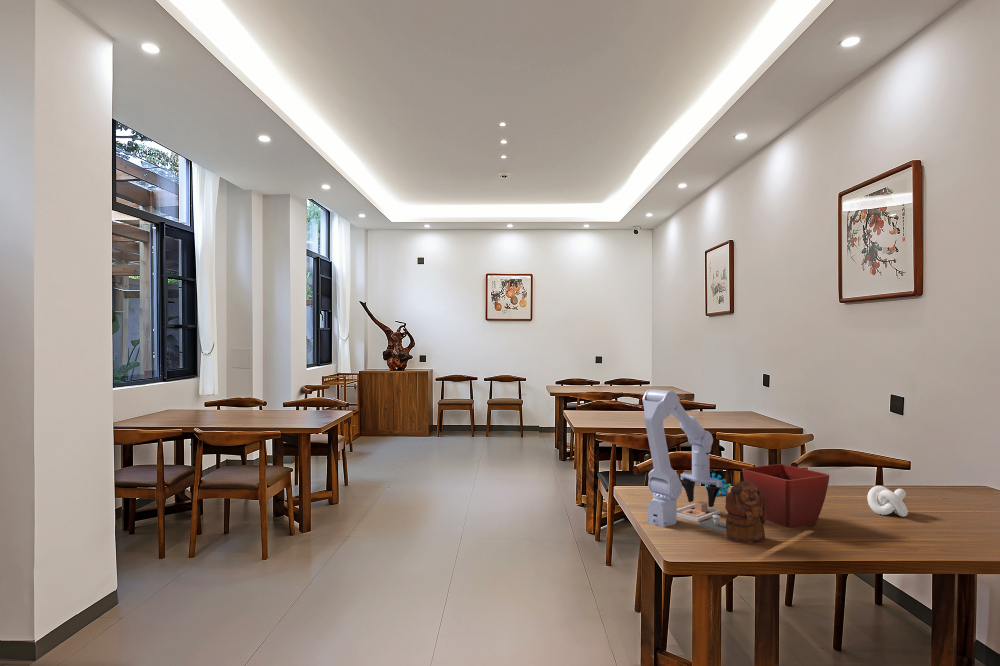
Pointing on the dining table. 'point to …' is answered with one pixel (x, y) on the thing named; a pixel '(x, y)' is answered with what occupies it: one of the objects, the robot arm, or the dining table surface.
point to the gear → (724, 486)
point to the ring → (697, 510)
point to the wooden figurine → (745, 514)
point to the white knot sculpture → (887, 501)
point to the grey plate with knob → (714, 524)
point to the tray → (714, 512)
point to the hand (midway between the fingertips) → (700, 504)
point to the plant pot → (789, 493)
